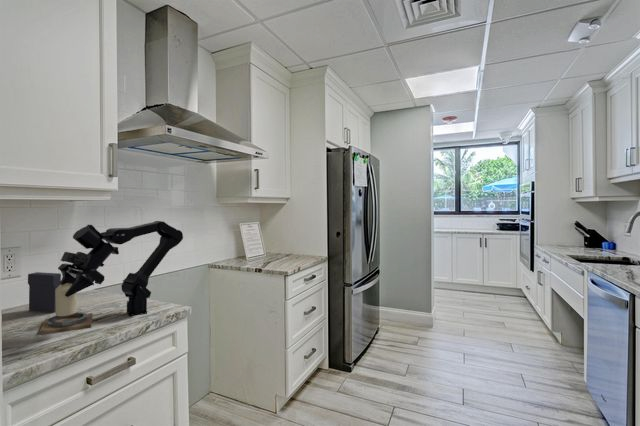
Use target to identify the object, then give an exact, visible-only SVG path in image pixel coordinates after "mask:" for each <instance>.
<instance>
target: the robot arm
mask: <svg viewBox="0 0 640 426" xmlns="http://www.w3.org/2000/svg"><path fill="white" fill-rule="evenodd" d="M155 232H156V233H157V235H159V236H160V238H159V243H158V245H157V246H156V247H155V249H154V250H153V251H152V253H151V254H150V255H149V256H148V257H147V259H146V260H145V262H144V263H143V264H142V265H141V266H140V268H138V271H136V272H129V273H128V274H127V275H126V277H125V278H124V279H123V280H122V284H121V285H120V288H121V291H122V293H123V294H124V295H125V298H128V300H127V301H126V313H127V315H128V316H136V315H143V314H148V310H147V309H148V307H147V304H148V303H147V301H148V299H149V298H150V297H151V294H152V291H151V290H149V289H148V288H147V287H148V284H149V278H150V276H151V275H152V273H154V271H155V270H156V268H157V267H158V266H159V264H160V263H161V262H162V260H163V259H164V258H165V257H166V255H167V254H168V253H169V251H170V250H171V249H173V248H175V247H177V246H178V245H179V244H180V243H181V242H182V241H183V239H184V234H183V232H182V230H180V229H177V228H175V227H173V226H171V225H169V224H168V223H167V222H165V221H164V220H155V221H152V222H148V223H143V224H139V225H135V226H130V227H111V228H108V229H106V230H105V231H103V232H100V231H98V229H96V228H95V226H94V225H92V224H87V225H86V226H84V227H82V228H80V229H79V230H76V231H75V232H74V233H73V235H72V239H73V240H75V241H76V242H77V243H78V244H80V245H81V246H82V247H83V248H84V249H86V250H88V249H91V250H90V251H89V252H88V253H85V252H82V251H77V252H76V253H74V252H69V251H64V253H63V255H62V256H61V259H60V261H61V262H65V263H61V264H60V265H59V266H58V267H57V269H58V271H60V274H61V282H60V284H62V285H64V284H66V283H69V284H71V283H72V286H71V287H70V288H69V290H68V291H67V292H66V294H65V296H66V297H69V296H71V295H73V294H75V293H76V294H77V293H78V292H80V291H83V290H85V289H88V288H89V287H91V286H94V285H95V284H97V285H102V284H103V282H104V281H105V275H104V274H103V273H101V272H100V271H98V269H99V268H100V267H104V266H105V264H104V262H105V261H106V260H107V259H108V258H109V257H110V256H111V254H112V255H119V254H120V252H119V247H118V246H114V245H123V244H126V243H128V242H130V241H132V239H134V238H137V237H141V236H144V235H147V234H148V235H149V234H153V233H155ZM113 244H114V245H113ZM60 284H59V285H60Z"/></svg>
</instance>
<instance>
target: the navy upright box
mask: <svg viewBox="0 0 640 426" xmlns="http://www.w3.org/2000/svg"><path fill="white" fill-rule="evenodd" d="M61 280H62V273H61V272H59V273H54V272H38V271H35V272H33V273H28V275H27V284H28V285H29V286H28V289H29V290H28V295H29V296H28V311H29V312H38V313H39V312H40V313H52V314H53V313H56V296H55V290H56V288H57V287H58V286H59V284H60V282H61Z"/></svg>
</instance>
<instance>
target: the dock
mask: <svg viewBox="0 0 640 426" xmlns="http://www.w3.org/2000/svg"><path fill="white" fill-rule="evenodd" d="M93 313H94V312H90V313H87V312H84V311H83V312H82V311H81V312H79V311H76V313H74V314H72V315H68V316H56V315H54V316H51V317H49V318H48V317H47V318H45V320H44V321H43V323H42V326H41V328H40V330H39V332H38V333H39V335H45V334H46V335H47V334H51V333H53V334H54V333H59V332H68V331H74V330H80V329H87V328H92V324H93V323H92V322H93V316H94V315H93Z"/></svg>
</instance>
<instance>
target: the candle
mask: <svg viewBox="0 0 640 426" xmlns="http://www.w3.org/2000/svg"><path fill="white" fill-rule="evenodd" d="M71 286H72V283H71V284H69V283H66V284H64V285H62V284H60V285H59V286H58V287H57V288H56V290H55V296H56V312H55V316H68V315H72V314H74V313H76V312H77V293H75V294H73V295H71V296H69V297H66V296H65V294H66V292H67V291H68V290H69V288H70V287H71Z"/></svg>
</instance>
